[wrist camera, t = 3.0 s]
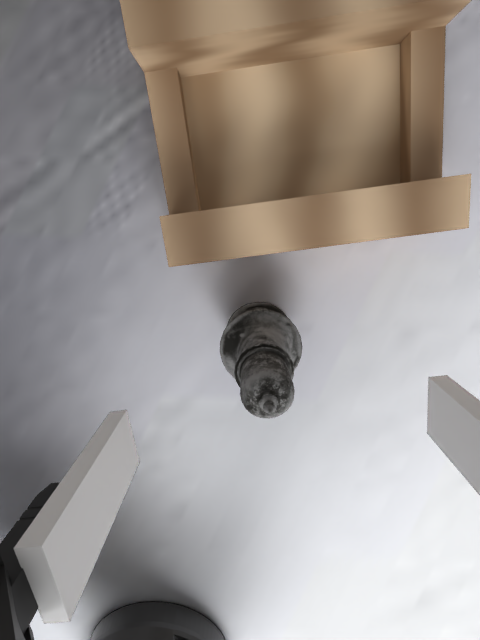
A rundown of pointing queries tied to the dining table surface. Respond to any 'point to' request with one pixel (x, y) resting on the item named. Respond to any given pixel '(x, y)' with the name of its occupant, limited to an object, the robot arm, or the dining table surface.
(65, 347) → the dining table surface
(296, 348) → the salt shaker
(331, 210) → the well block
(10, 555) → the robot arm
